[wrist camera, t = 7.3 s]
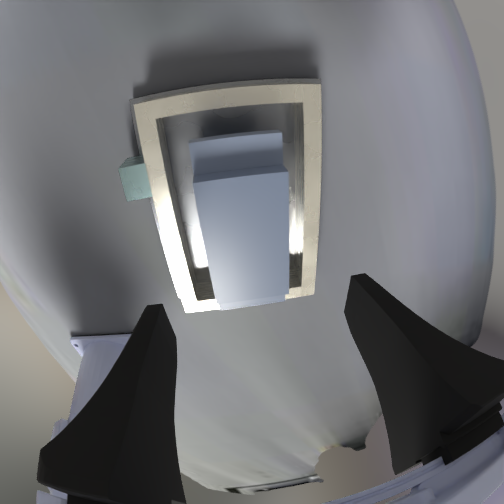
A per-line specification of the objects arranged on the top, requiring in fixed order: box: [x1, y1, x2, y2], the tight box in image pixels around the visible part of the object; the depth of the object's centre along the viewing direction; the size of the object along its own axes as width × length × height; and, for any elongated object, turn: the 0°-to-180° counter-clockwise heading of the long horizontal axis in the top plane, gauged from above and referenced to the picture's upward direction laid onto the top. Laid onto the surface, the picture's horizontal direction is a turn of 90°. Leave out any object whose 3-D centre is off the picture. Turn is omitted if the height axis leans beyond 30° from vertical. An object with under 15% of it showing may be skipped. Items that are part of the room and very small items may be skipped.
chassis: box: [119, 78, 322, 313], centre depth 18 cm, size 15×12×3 cm
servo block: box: [188, 130, 289, 310], centre depth 16 cm, size 10×4×6 cm, turn 4°
